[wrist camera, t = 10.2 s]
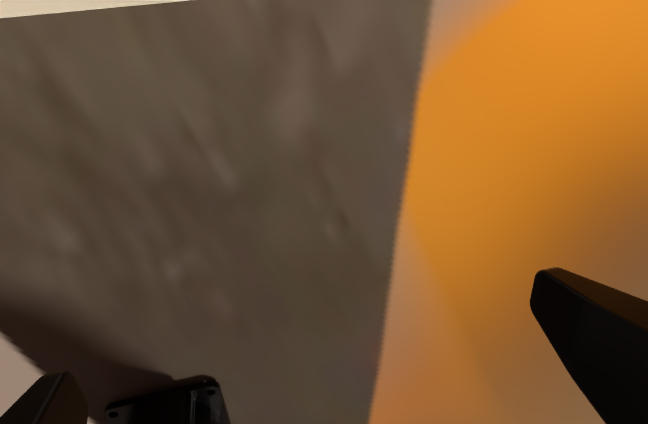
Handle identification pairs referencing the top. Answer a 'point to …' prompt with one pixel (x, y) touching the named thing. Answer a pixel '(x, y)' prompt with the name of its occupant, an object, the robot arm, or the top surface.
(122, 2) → the socket
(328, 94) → the top surface
